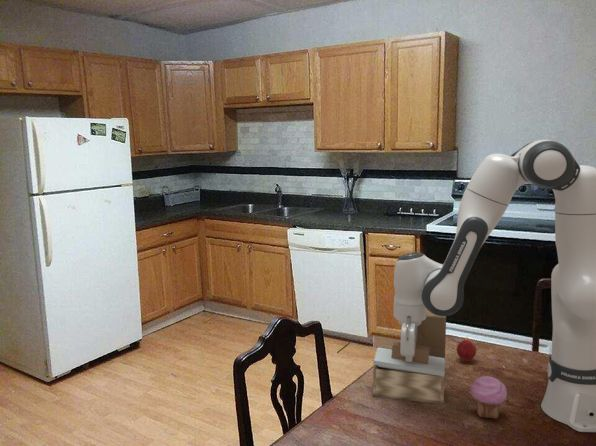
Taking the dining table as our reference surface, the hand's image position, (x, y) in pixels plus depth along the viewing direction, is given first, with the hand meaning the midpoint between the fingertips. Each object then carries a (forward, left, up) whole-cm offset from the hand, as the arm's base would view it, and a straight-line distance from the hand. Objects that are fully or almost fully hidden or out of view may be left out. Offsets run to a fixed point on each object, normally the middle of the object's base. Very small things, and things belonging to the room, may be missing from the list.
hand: (409, 358), depth 142 cm
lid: (0, 0, -2) cm, 2 cm away
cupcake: (-20, +7, -11) cm, 24 cm away
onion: (-16, -24, -11) cm, 31 cm away
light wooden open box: (0, 0, -10) cm, 10 cm away
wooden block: (-4, -14, -11) cm, 18 cm away
